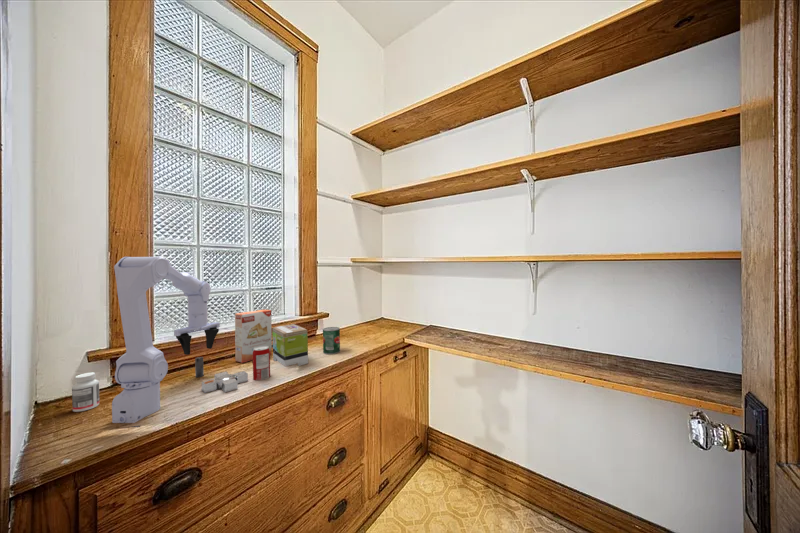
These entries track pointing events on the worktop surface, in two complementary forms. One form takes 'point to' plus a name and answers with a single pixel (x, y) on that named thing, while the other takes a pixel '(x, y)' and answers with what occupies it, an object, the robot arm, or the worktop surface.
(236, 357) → the cracker box
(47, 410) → the worktop surface
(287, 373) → the worktop surface
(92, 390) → the pill bottle
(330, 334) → the canned tomato
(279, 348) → the tea box
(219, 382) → the tabbed chrome dome
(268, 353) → the soda can
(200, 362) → the black pin
